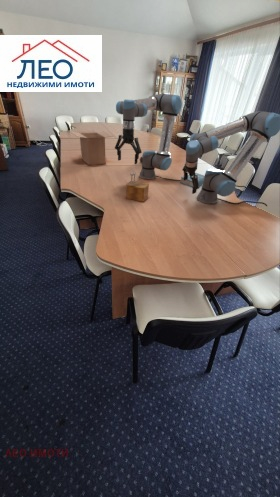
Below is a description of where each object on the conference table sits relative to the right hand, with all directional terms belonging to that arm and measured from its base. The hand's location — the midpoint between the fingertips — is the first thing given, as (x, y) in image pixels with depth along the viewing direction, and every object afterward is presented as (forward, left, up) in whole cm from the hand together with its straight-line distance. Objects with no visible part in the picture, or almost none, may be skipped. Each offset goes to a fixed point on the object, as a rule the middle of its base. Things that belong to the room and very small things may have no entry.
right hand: (189, 186), depth 160 cm
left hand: (+45, -10, +12) cm, 48 cm away
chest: (+37, -4, -12) cm, 40 cm away
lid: (+38, -4, -3) cm, 38 cm away
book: (-17, -41, -12) cm, 46 cm away
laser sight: (+19, -96, -12) cm, 98 cm away
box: (+80, -96, -12) cm, 125 cm away
